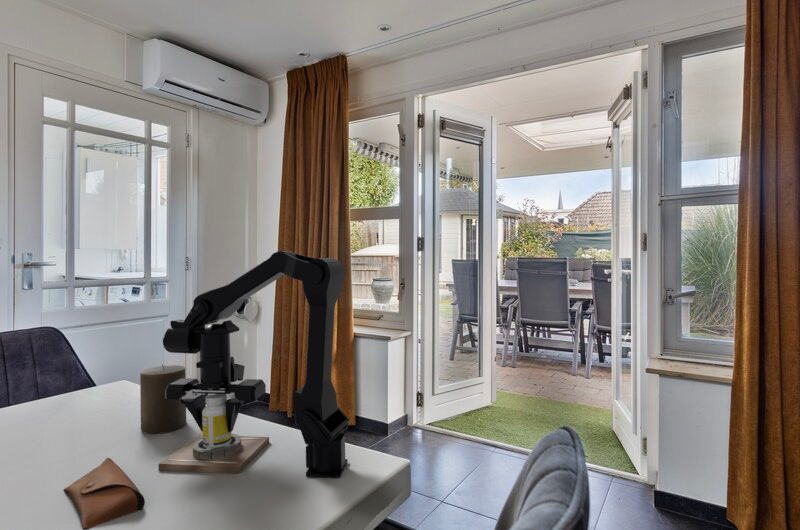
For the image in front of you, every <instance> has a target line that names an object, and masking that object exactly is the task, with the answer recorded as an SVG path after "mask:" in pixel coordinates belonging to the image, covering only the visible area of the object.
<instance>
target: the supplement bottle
mask: <svg viewBox="0 0 800 530" xmlns="http://www.w3.org/2000/svg"><path fill="white" fill-rule="evenodd" d="M227 395H228V394H208V396H206V397H205V403H206V407H205V408H204V409H203V410H202V430H203V432H202V435H203V446H204V447H205V448H210V449H214V448H220V447H224V446H226V445H228V444H229V443H230V442H231V438H232V436H231V434H232V432H228V428H227V419H226V408H225V402H226V401H228V398H227V397H228V396H227Z"/></svg>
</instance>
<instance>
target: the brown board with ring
mask: <svg viewBox="0 0 800 530" xmlns="http://www.w3.org/2000/svg"><path fill="white" fill-rule="evenodd" d="M231 436H232V438H231V442H230V443H229V444H228V445H226V446H224V447H220V448H214V449H210V448H205V447H204V446H203V434H198V435H197V436H195V437H194V438H193V439H191V440H190V441H188V442H186V444H184V445H183V446H181V447H180V448H179V449H177V450H176V451H174V452H173V453H172V454H170V455H168V456H167V457H166V458H164V459H163V460H161V461H160V462H159V463H158V470H159V471H170V472H171V471H174V472H175V471H176V472H177V471H178V472H196V473H197V472H198V473H199V472H200V473H219V474H220V473H222V474H240V473H241V472H242V471H244V469H245V468H246V467H247V466H248V465H249V464H250V463H251V462H252V461H253V460H254V459H255V458H256V456H258V455H259V454H260V453H261V452H262V450H264V449H265V448H266V447H267V446H268V444H270V436H258V435H256V436H251V435H238V434H236V433H231Z"/></svg>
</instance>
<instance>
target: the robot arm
mask: <svg viewBox="0 0 800 530" xmlns="http://www.w3.org/2000/svg"><path fill="white" fill-rule="evenodd" d="M284 275H286V276H288V277H291V278H292V279H294V280H297V281H301V282H302V291H303V294H304V296H305V299H306V302H307V304H308V320H307V321H308V326H307V343H306V344H307V346H306V363H305V364H306V365H305V381H304V384H303V386H302V387H300V388H299V389H297V390H295V391H294V392H293V397H292V400H293V408H292V411H291V415H294V422H295V425H296V426H298V427H299V429H300V433H301V435H302V439H303V441H304V443H305V445H306V446H305V467H306V469H307V470H306V472H305V476H306V477H318V478H319V477H321V478H341V477H342V474H343V472H344V471H345V468H346V467H347V464H348V462H349V461H348V460H349V459H347V458H346V433H344V431H346V430H348V427H349V423H350V418H348V416H347V415H346V414H345V413H344V412H343V411H342V409H341V408H340V407H339V406H338V398H337V392H336V389H335V387H334V384H333V381H332V363H333V362H332V361H333V344H334V343H333V342H334V322H335V321H334V320H335V308H336V307H335V306H336V303H337V302H338V300H339V296H340V294H341V292H342V288H343V284H344V280H345V275H346V274H345V267H344V265H343V264H342V263H341V262H340V261H339V260H338V259H336V258H332V257H320V258H319V257H318V258H316V257H311V256H308V255H304V254H300V253H296V252H294V251H291V250H276V251H275V252H273V253H272V254H271V255H270V256H269V257H268V258H266V259H265V260H263V261H262V262H260V263H258V264H257V265H256V266H254V267H253V268H251V269H249V270H248V271H246V272H245V273H244V274H242V275H241V276H238V277H237V278H236V279H234V280H233V281H231V282H229V283H228V284H226V285H223V286H219V287H216V288H213V289H211V290H208V291H205V292H203V293H200V294H198V295H197V296H195V298H194V300H193V301H192V303H193V305H192V307H191V309H190V310H189V312H188V313H187V315H186V317H185V319H174V320H173V319H172V320H170V325H169V327H168V328H167V329H166V331H165V332H164V335H163V338H162V345H163V348H164V349H165V351H167V352H168V353H171V354H192V355H194V354H198V353H199V361H197V362H195V365H196V369H199V373H200V374H199V375H200V379H199V380H198V378H193V377H192V378H188V377H185V378H181V379H179V380H177V381H175V382H173V383H170V384H169V385H168V386H167V388H166V390H165V398H166V399H177V400H178V399H180V398H181V397H182V400H180V404H184V405H185V406H186V410H188V412H189V413H190V415H191V416H192V418H193V419H194V421H195V422H196V424H197V426H198V428H199V429H200V431H201V432H202V433H203V430H202V410H203V409H204V408H205V407H206V406H207V405H206V403H205V397H206V396H208V395H210V394H226V395H230V398H229V399H227V401H226V402H225V408H226V419H227V428H228V432H231V433H233V431H234V427H235V425H236V421H237V419H238V416H239V413H240V410H241V407H242V406H243V404H244V403H245V402H253V401H256V400H257V399H259V398H260V397H261V396H263V395H264V394H265V393H266V392H267V390H266V388H267V387H266V383H265V382H264V380H263V379H258V378H257V379H256V378H255V379H254V378H253V379H251V378H246V379H245V380H244V375H245V367H246V366H245V365H243V364H239V363H235V358H234V356H233V355H231V334H233V333H237V332H239V331H240V327H238V325H236V324H235V323H234V322H233V321H232V320H231V319H230V320H227V319H229V318H231V317H232V316H233V315H234V314H235V313H236V312H237V311H238V310H239V309H240V308H241V306H242V304H243V303H244V302H245V301H246V300H247V299H248V298H250V297H251V296H253V295H255V294H256V293H258V292H259V291H261V290H262V289H264V288H266V287H267V286H269V285H270V284H272V283H273V282H275V281H277V280H278V279H280V278H281V277H283V276H284ZM222 320H223V322H222V323H218V322H219V321H222ZM224 320H226V321H224ZM206 325H207V327H206ZM237 381H238V382H239V381H241V382H240V383H238V384H237V383H235V382H237Z"/></svg>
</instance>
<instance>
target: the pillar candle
mask: <svg viewBox="0 0 800 530" xmlns="http://www.w3.org/2000/svg"><path fill="white" fill-rule="evenodd" d="M139 376H140V377H139V379H140V384H139V385H140V392H139V393H140V431H141V432H143V433H144V434H148V435H150V434H151V435H156V434H157V435H159V434H164V433H169V432H175V431H177V430H180V429H181V428H184V427H185V426H186V425H187V408H186V406H185V405H184V404H180V400H182V397H181V398H180V399H178V400H177V399H166V398H165V390H166V388H167V386H168V385H169V384H170V383H173V382H175V381H177V380H179V379H181V378H186V367H185V366H184V365H179V364H177V365H176V364H173V365H172V364H171V365H164V364H161V366H154V367H150V368H144V369H143V370H141V371H140V372H139Z"/></svg>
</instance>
